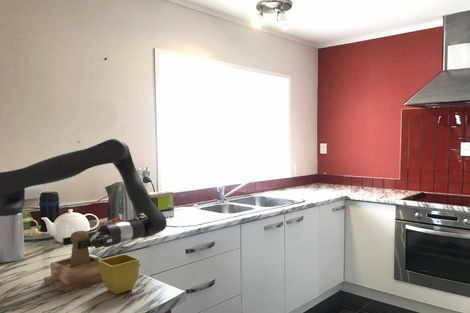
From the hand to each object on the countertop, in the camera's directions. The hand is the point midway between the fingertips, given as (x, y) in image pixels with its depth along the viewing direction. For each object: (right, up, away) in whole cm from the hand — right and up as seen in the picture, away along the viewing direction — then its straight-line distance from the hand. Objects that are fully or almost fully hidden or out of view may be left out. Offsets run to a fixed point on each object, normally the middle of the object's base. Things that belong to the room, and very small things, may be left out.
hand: (70, 244), depth 114 cm
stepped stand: (+1, -12, +2) cm, 12 cm away
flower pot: (+17, -12, -7) cm, 22 cm away
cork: (+3, -8, +1) cm, 8 cm away
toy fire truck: (-6, -11, +54) cm, 55 cm away
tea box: (+6, -9, +104) cm, 104 cm away
